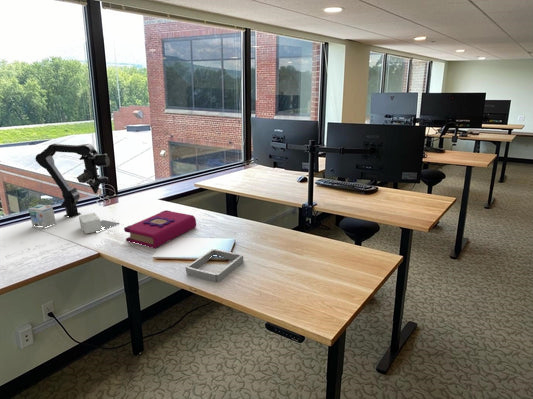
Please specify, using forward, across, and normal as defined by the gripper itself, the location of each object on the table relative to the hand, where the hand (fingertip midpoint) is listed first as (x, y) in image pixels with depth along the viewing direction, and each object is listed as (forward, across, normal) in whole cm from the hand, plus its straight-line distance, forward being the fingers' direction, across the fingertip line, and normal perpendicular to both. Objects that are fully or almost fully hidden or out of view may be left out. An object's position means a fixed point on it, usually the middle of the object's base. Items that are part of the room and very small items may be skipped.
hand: (95, 193), depth 220 cm
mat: (+13, +18, -13) cm, 25 cm away
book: (+13, +56, -8) cm, 58 cm away
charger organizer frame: (+13, +102, -25) cm, 106 cm away
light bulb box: (+13, -14, -25) cm, 31 cm away
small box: (+9, +10, -15) cm, 20 cm away
